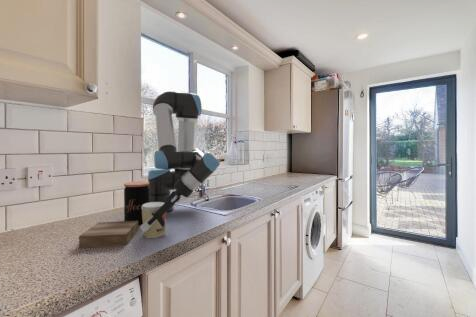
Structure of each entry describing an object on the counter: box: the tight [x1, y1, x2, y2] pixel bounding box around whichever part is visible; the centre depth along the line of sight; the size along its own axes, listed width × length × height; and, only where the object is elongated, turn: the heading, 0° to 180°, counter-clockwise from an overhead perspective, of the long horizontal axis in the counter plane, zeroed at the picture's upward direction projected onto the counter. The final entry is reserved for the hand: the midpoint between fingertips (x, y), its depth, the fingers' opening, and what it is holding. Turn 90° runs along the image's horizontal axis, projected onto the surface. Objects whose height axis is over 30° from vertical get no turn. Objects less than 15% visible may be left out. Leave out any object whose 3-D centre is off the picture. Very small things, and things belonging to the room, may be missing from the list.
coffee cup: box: [141, 202, 167, 239], centre depth 90 cm, size 9×9×12 cm
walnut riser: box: [78, 220, 139, 249], centre depth 86 cm, size 15×15×4 cm
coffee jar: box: [123, 181, 150, 226], centre depth 105 cm, size 11×11×18 cm
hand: (145, 225), depth 89 cm, fingers closed on coffee cup, 9 cm apart
